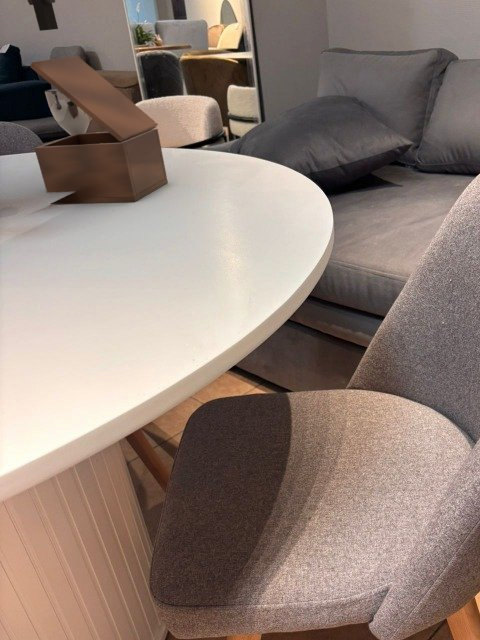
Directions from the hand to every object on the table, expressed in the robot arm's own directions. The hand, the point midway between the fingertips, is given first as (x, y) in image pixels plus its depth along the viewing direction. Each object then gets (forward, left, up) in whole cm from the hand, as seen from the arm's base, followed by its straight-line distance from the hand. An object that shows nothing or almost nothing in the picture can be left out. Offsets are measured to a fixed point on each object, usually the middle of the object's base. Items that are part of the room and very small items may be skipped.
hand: (49, 29), depth 97 cm
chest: (+4, 0, -25) cm, 25 cm away
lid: (+5, 0, -10) cm, 11 cm away
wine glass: (-11, +18, -25) cm, 32 cm away
